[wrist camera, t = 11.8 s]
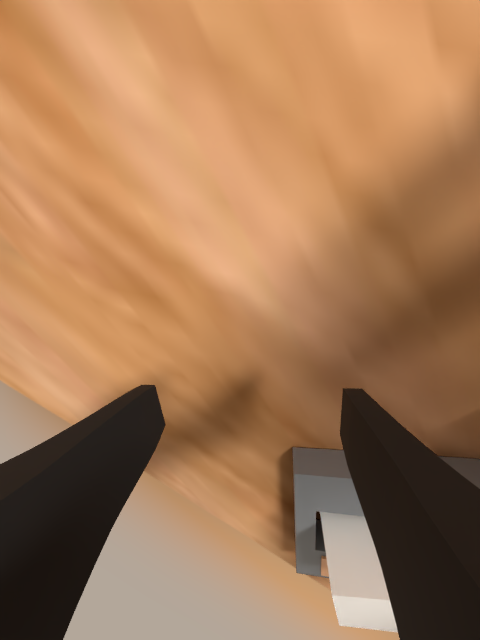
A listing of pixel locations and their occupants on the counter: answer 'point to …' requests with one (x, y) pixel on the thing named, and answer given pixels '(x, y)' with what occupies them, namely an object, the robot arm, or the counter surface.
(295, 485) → the socket board
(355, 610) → the plug
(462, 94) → the counter surface
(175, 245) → the counter surface
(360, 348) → the counter surface
